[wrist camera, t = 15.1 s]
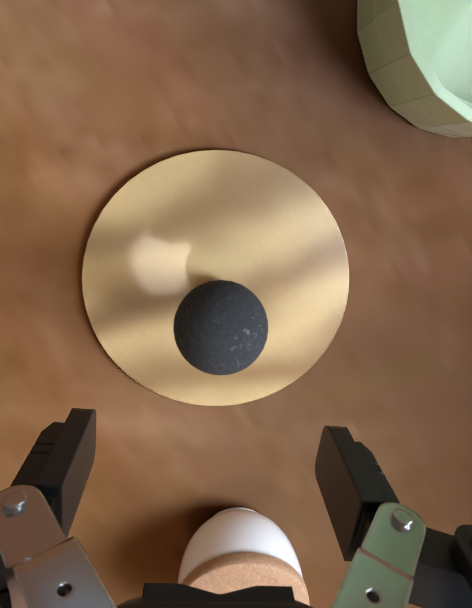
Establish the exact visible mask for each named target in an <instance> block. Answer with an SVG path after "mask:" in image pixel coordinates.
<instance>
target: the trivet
mask: <svg viewBox="0 0 472 608" xmlns="http://www.w3.org/2000/svg"><path fill="white" fill-rule="evenodd" d="M214 279H223V280H227V281H233V282H236V283H239V284H241V285H243V286H245V287H246V288H248V289H249V290H251V291H252V292H253V293H254V294H255V295H256V296H257V298H258V299H259V300H260V301H261V303H262V305H263V307H264V309H265V312H266V315H267V319H268V336H267V341H266V343H265V346H264V349H263V350H262V352H261V354H260V355H259V357H258V358H257V359H256V360H255V361H254V362H253V363H252V364H251V365H250V366H248V367H247V368H246V369H244V370H242V371H240V372H237V373H234V374H230V375H212V374H208V373H204V372H202V371H200V370H198V369H196V368H195V367H193V366H192V365H190V364H189V363H188V362H187V361H186V360H185V359H184V357H183V356H182V355H181V353H180V351H179V349H178V347H177V345H176V342H175V338H174V331H173V327H174V317H175V314H176V311H177V309H178V306H179V305H180V303H181V302H182V300H183V299H184V297H185V296H186V295H187V294H188V293H189V292H190V291H191V290H192V289H194V288H195V287H197V286H199V285H201V284H203V283H206V282H209V281H212V280H214ZM82 289H83V297H84V302H85V308H86V312H87V315H88V317H89V320H90V323H91V326H92V328H93V330H94V332H95V334H96V336H97V338H98V340H99V342H100V343H101V345H102V346H103V348H104V349H105V351H106V352H107V354H108V355H109V356H110V357H111V358H112V360H113V361H114V362H115V363H116V364H117V365H118V366H119V367H120V368H121V369H122V370H123V371H124V372H125V373H126V374H128V375H129V376H130V377H131V378H132V379H134V380H135V381H137V382H138V383H140V384H141V385H143V386H144V387H146V388H148V389H150V390H152V391H154V392H156V393H157V394H160V395H162V396H165V397H168V398H170V399H173V400H177V401H181V402H185V403H189V404H196V405H203V406H225V405H236V404H240V403H245V402H250V401H253V400H256V399H259V398H263V397H266V396H268V395H270V394H272V393H274V392H276V391H279V390H281V389H282V388H284V387H286V386H287V385H289V384H290V383H292V382H294V381H295V380H296V379H298V378H299V377H300V376H301V375H303V374H304V373H305V372H306V371H307V370H308V369H309V368H310V367H311V366H312V365H313V364H314V363H315V362H316V361H317V360H318V359H319V358H320V356H321V355H322V354H323V353H324V351H325V350H326V349H327V347H328V346H329V344H330V342H331V341H332V339H333V337H334V336H335V334H336V331H337V329H338V327H339V325H340V322H341V320H342V317H343V314H344V310H345V307H346V302H347V296H348V290H349V266H348V257H347V252H346V248H345V244H344V240H343V237H342V235H341V232H340V230H339V228H338V225H337V223H336V221H335V219H334V218H333V216H332V214H331V212H330V211H329V209H328V207H327V206H326V205H325V204H324V202H323V201H322V200H321V198H320V197H319V196H318V195H317V193H316V192H315V191H314V190H312V189H311V188H310V187H309V186H308V185H307V184H306V183H305V182H304V181H303V180H302V179H300V178H299V177H297V176H296V175H295V174H293V173H292V172H291V171H289V170H287V169H285V168H284V167H282V166H280V165H278V164H276V163H274V162H272V161H270V160H267V159H264V158H261V157H259V156H256V155H252V154H248V153H243V152H238V151H229V150H203V151H194V152H189V153H185V154H180V155H176V156H174V157H171V158H168V159H165V160H162V161H160V162H158V163H156V164H154V165H152V166H150V167H148V168H147V169H145V170H143V171H141V172H140V173H139V174H137V175H136V176H135V177H133V178H132V179H130V180H129V181H128V182H127V183H126V184H125V185H124V186H122V187H121V188H120V189H119V190H118V191H117V192H116V193H115V194H114V195H113V197H112V198H111V199H110V201H109V202H108V203H107V204H106V206H105V207H104V208H103V210H102V212H101V213H100V215H99V217H98V219H97V220H96V222H95V224H94V226H93V229H92V231H91V234H90V236H89V239H88V241H87V245H86V250H85V254H84V258H83V268H82Z"/></svg>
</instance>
